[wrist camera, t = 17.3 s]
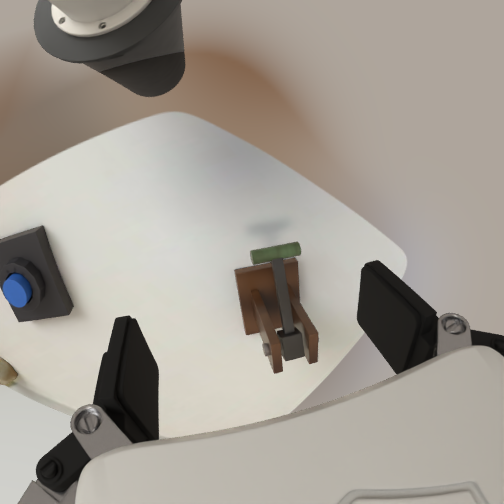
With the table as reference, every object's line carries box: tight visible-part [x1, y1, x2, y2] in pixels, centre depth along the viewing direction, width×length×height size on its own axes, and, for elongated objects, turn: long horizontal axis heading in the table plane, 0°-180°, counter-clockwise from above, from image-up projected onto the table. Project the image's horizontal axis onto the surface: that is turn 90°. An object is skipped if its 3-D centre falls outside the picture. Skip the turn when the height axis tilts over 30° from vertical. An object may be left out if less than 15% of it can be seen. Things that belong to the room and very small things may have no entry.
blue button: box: [3, 273, 32, 308], centre depth 27 cm, size 4×4×2 cm
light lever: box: [250, 242, 305, 361], centre depth 30 cm, size 12×5×2 cm, turn 7°
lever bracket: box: [234, 258, 319, 374], centre depth 34 cm, size 10×8×12 cm
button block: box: [0, 226, 74, 322], centre depth 30 cm, size 12×10×4 cm
